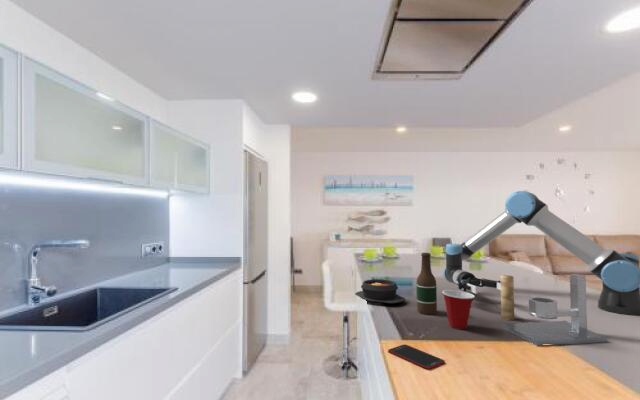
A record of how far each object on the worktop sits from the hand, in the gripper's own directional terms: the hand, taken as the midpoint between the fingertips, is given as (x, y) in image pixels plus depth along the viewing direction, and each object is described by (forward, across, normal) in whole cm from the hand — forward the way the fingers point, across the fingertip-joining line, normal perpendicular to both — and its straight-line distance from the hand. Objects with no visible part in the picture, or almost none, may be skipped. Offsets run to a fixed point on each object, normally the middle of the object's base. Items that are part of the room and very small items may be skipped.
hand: (492, 289), depth 142 cm
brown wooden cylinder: (+9, 0, -9) cm, 13 cm away
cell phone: (+38, +48, -9) cm, 62 cm away
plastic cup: (+16, +23, -9) cm, 29 cm away
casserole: (-23, +41, -9) cm, 48 cm away
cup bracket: (+27, -3, -9) cm, 29 cm away
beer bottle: (-2, +27, -9) cm, 28 cm away
